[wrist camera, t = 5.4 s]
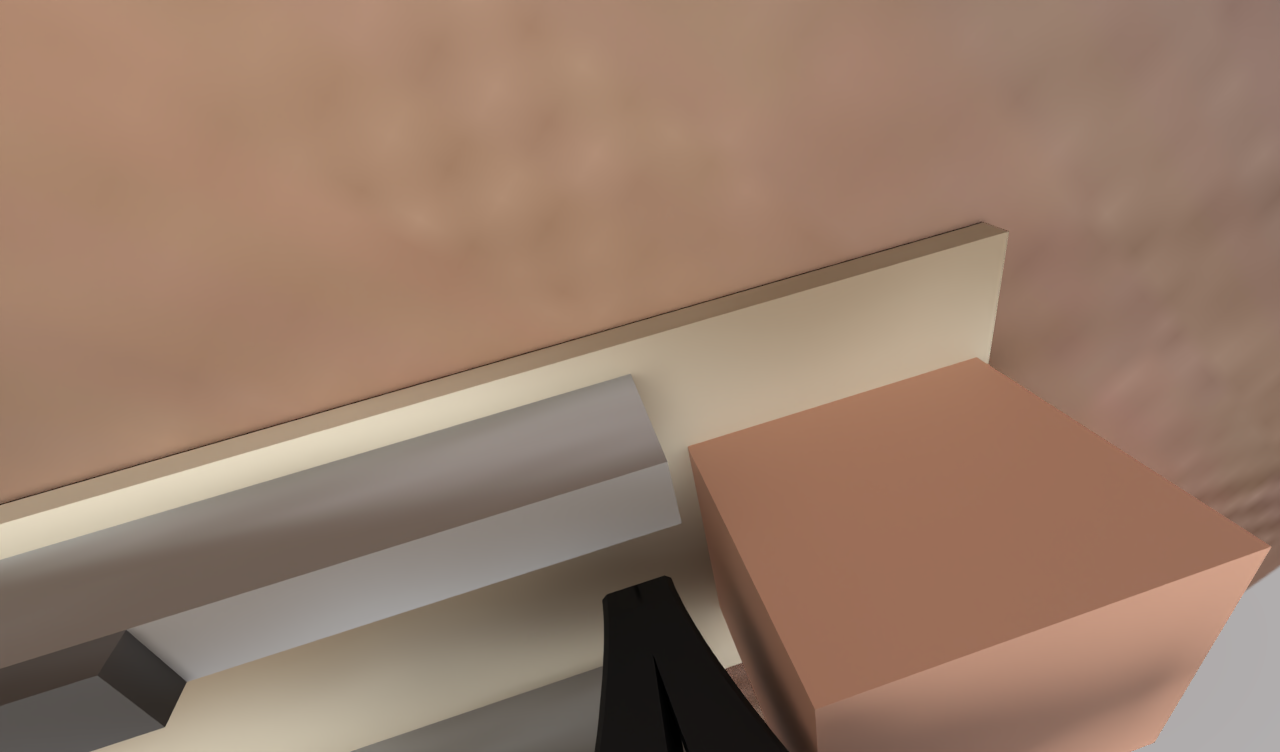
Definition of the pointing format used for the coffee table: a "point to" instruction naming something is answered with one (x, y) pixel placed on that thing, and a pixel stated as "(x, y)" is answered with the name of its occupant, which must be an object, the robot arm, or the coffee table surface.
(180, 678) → the chute
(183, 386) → the coffee table surface
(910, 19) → the coffee table surface
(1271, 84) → the coffee table surface
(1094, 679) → the block
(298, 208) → the coffee table surface
